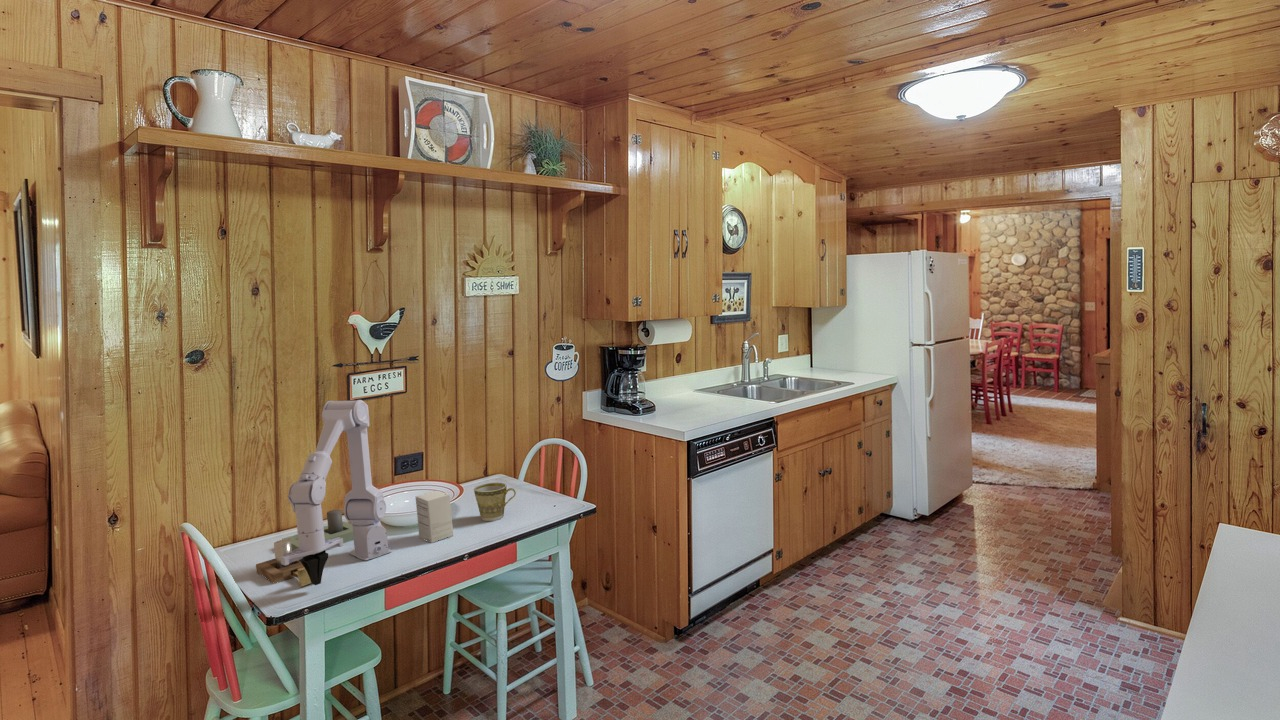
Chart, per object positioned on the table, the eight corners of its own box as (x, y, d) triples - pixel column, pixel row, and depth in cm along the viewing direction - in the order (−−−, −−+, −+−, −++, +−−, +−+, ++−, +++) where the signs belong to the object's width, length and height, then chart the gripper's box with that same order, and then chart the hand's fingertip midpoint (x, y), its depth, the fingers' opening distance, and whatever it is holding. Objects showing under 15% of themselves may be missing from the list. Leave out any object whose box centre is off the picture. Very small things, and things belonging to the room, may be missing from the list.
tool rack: (362, 537, 209) (359, 510, 208) (300, 556, 195) (297, 528, 195) (343, 529, 217) (341, 503, 216) (282, 547, 203) (280, 520, 203)
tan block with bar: (317, 580, 176) (316, 565, 176) (301, 586, 173) (299, 570, 173) (303, 572, 182) (302, 558, 182) (287, 578, 179) (285, 563, 179)
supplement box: (441, 530, 211) (437, 489, 209) (454, 536, 205) (450, 494, 204) (418, 538, 205) (414, 495, 204) (430, 543, 200) (427, 500, 199)
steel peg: (296, 570, 185) (293, 541, 184) (280, 575, 182) (277, 546, 181) (290, 567, 188) (287, 538, 187) (274, 572, 185) (271, 542, 184)
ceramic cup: (471, 523, 216) (469, 491, 215) (482, 512, 226) (480, 482, 225) (512, 523, 214) (510, 491, 213) (521, 512, 224) (519, 481, 223)
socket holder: (314, 570, 185) (313, 562, 184) (274, 583, 177) (273, 575, 177) (295, 560, 193) (294, 552, 192) (256, 572, 185) (255, 564, 185)
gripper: (330, 517, 178) (335, 569, 179) (272, 535, 166) (278, 590, 168) (345, 522, 173) (350, 575, 175) (286, 541, 162) (292, 597, 164)
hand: (316, 583), depth 171 cm, fingers closed
